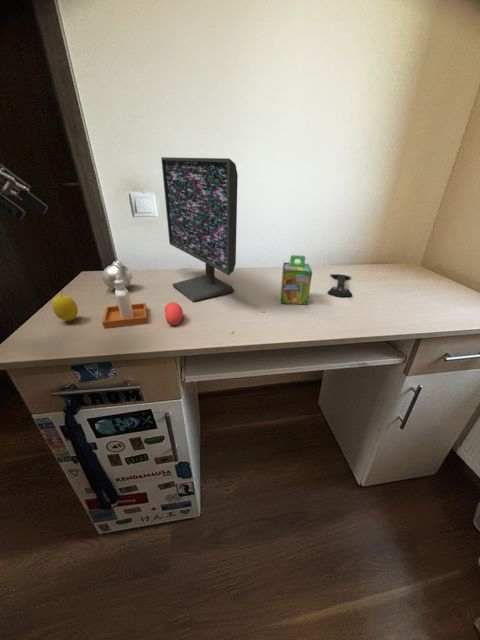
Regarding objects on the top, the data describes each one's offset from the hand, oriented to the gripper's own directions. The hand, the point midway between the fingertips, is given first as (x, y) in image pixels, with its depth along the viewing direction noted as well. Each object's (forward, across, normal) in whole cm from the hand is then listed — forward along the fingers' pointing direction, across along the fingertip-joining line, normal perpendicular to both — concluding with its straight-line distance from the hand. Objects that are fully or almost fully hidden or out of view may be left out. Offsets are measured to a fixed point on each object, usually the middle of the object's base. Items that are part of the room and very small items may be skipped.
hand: (34, 213), depth 54 cm
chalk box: (+64, +24, -22) cm, 71 cm away
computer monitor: (+41, +35, 0) cm, 54 cm away
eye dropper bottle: (+26, +14, +15) cm, 33 cm away
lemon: (+15, +14, +26) cm, 34 cm away
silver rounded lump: (+21, +38, +20) cm, 48 cm away
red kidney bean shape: (+36, +12, +6) cm, 38 cm away
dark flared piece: (+79, +36, -38) cm, 95 cm away
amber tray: (+26, +14, +16) cm, 34 cm away
